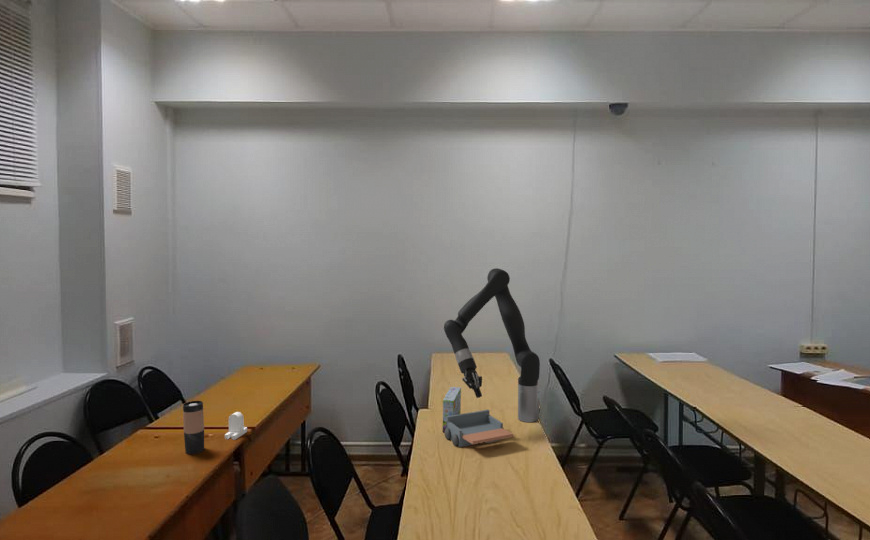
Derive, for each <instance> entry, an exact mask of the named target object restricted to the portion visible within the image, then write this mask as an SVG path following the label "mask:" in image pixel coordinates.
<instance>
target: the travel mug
mask: <svg viewBox="0 0 870 540" xmlns="http://www.w3.org/2000/svg"><path fill="white" fill-rule="evenodd" d="M182 415H183V417H182V419H183V440H184V450H185V453H186V454H187V455H196V454H200V453H202V452H203V451H204V450H205V419H204V418H205V417H204V402H203V401H202V400H191V401H187V402H184V403H183V405H182Z"/></svg>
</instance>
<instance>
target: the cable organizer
mask: <svg viewBox="0 0 870 540" xmlns="http://www.w3.org/2000/svg"><path fill="white" fill-rule="evenodd" d="M244 418H245V417H244V415H243V413H241V411H235V412H234V413H231V414H230V415H229V416H228V421H227V422H228V432H226V433H225V434H224V440H229V439H231V440H233V441H235V440H237V439H239V438H240V437H241V436H243V435H245V434H246V433H247V432H248V427H247V426H245V425H244V422H245V421H244V420H245V419H244Z"/></svg>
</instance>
